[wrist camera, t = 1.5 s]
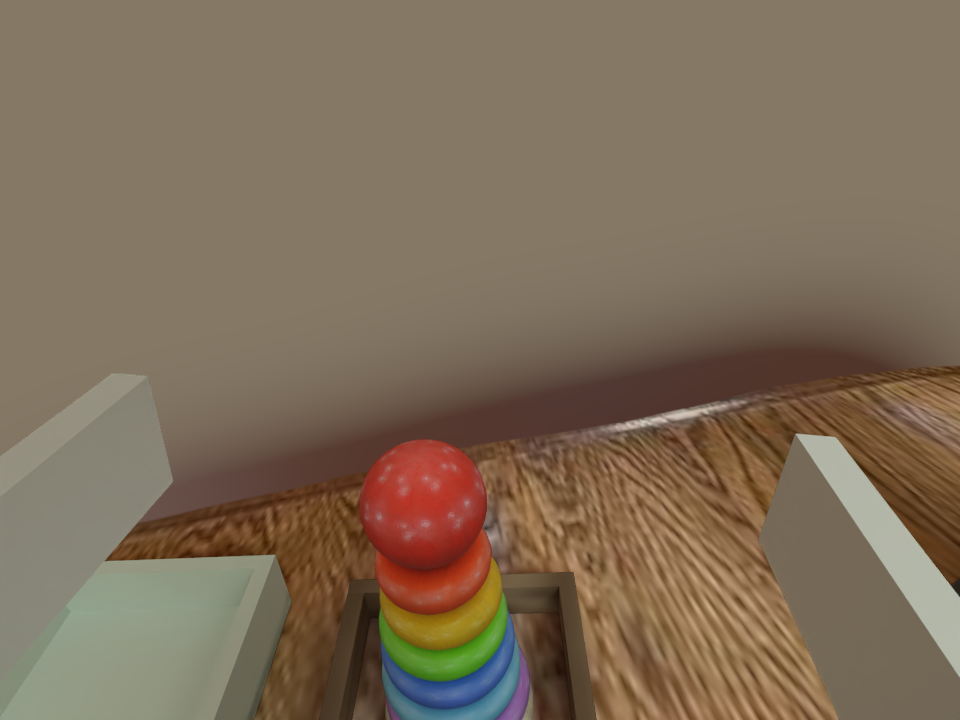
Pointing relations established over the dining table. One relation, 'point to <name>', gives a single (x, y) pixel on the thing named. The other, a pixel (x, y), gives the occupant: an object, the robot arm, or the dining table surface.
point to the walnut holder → (521, 598)
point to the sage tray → (156, 644)
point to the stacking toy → (440, 590)
